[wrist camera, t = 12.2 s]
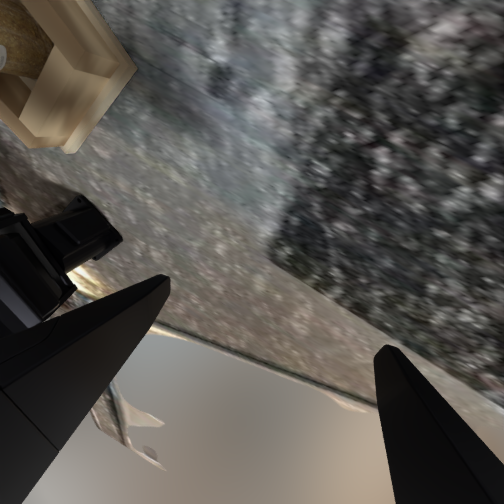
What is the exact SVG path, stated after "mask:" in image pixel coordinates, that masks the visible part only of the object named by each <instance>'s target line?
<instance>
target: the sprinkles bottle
mask: <svg viewBox="0 0 504 504" xmlns="http://www.w3.org/2000/svg"><path fill="white" fill-rule="evenodd" d="M52 49H53V44H52V41H51V39H50V38H49V37H48V35H47V34H46V33H45V31H44V30H43V29H42V28H41V26H40V25H39V24H38V22H37V21H36V20H35V19H34V17H33V16H32V15H31V13H30V12H29V11H28V10H27V8H26V7H25V6H24V5H23V4H21V3H19V2H16V1H14V0H0V72H2V73H7V74H12V75H18V76H22V77H27V78H29V79H31V80H34V81H37V80H38V78H39V76H40V74H41V72H42V70H43V68H44V65H45V63H46V61H47V59H48V57H49V55H50V53H51V51H52Z"/></svg>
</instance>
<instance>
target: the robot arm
mask: <svg viewBox="0 0 504 504" xmlns="http://www.w3.org/2000/svg"><path fill="white" fill-rule="evenodd" d="M27 219H28V218H27V216H26V215H25V213H20V214H14V212H11V211H10V210H8V209H7V208H5V207H3V208H0V504H22V502H23V501H24V500H25V498H26V497H27V496H28V494H29V493H30V492H31V490H32V489H33V487H34V486H35V485H36V483H37V482H38V481H39V479H40V478H41V477H42V475H43V474H44V472H45V471H46V470H47V468H48V467H49V466H50V464H51V463H52V461H53V460H54V459H55V457H56V456H57V455H58V453H59V451H60V450H61V449H62V448H63V446H64V445H65V444H66V442H67V441H68V439H69V438H70V437H71V435H72V434H73V433H74V431H75V430H76V428H77V427H78V426H79V424H80V423H81V421H82V420H83V419H84V418H85V416H86V415H87V414H88V412H89V411H90V409H91V408H92V407H93V405H94V404H95V403H96V401H97V400H98V399H99V397H100V396H101V394H102V393H103V392H104V390H105V389H106V388H107V386H108V385H109V384H110V382H111V381H112V379H113V378H114V377H115V375H116V374H117V372H118V371H119V370H120V369H121V367H122V366H123V364H124V363H125V362H126V360H127V359H128V357H129V356H130V355H131V353H132V352H133V351H134V349H135V348H136V347H137V345H138V344H139V343H140V341H141V340H142V338H143V337H144V336H145V334H146V333H147V332H148V330H149V329H150V327H151V326H152V324H153V322H154V321H155V319H156V317H157V316H158V314H159V312H160V310H161V309H162V307H163V305H164V304H165V302H166V300H167V298H168V297H169V295H170V277H169V276H166V275H163V274H159V275H156V276H154V277H151V278H149V279H147V280H144V281H142V282H139V283H137V284H134V285H132V286H130V287H127V288H125V289H122V290H120V291H118V292H115V293H113V294H110V295H108V296H106V297H103V298H101V299H98V300H96V301H94V302H91V303H89V304H86V305H84V306H81V307H79V308H77V309H74V310H72V311H69V312H67V313H65V314H62V315H61V316H57V317H55V318H52V319H50V320H48V321H45V320H46V319H48V318H49V317H50V316H51V315H52V314H53V313H54V312H55V311H56V310H57V309H58V308H59V307H60V306H61V305H62V304H63V303H64V302H65V301H66V300H67V299H68V298H69V297H70V296H71V295H72V294H73V293H74V292H75V291H76V290H77V289H78V288H77V287H76V285H75V284H73V283H72V281H71V280H70V279H69V277H68V276H67V273H68V272H70V271H71V270H73V269H75V268H76V267H78V266H80V265H81V264H83V263H85V262H86V261H88V260H90V259H91V258H92V259H93V260H95V261H97V260H99V259H100V258H102V257H103V256H104V255H106V254H107V253H108V252H109V251H111V250H112V249H113V248H115V247H116V246H117V245H118V244H120V243H121V242H122V241H123V238H122V237H121V236H120V235H119V233H118V232H117V231H116V230H115V229H114V228H113V227H112V226H111V225H110V224H109V223H108V222H107V221H106V220H105V219H104V218H103V216H102V215H101V214H100V213H99V212H98V211H97V210H96V209H95V208H94V207H93V206H92V205H91V204H90V203H89V202H88V200H87V199H86V198H85V197H84V196H82V195H79V196H76V197H75V198H74V199H73V201H72V202H71V203H70V204H69V205H68V206H67V207H66V209H65V210H64V211H63V212H62V213H60V214H57V215H54V216H51V217H48V218H46V219H43V220H40V221H37V222H34V223H31V224H30V222H29V221H28V220H27ZM44 321H45V322H44ZM42 322H43V323H42ZM374 374H375V386H376V397H377V405H378V411H379V416H380V421H381V427H382V432H383V438H384V443H385V448H386V453H387V459H388V464H389V470H390V475H391V481H392V485H393V492H394V497H395V502H396V504H504V464H503V463H502V462H501V461H500V460H499V459H498V458H497V457H496V456H495V454H494V453H493V452H492V451H491V450H490V449H489V448H488V447H487V446H486V444H485V443H484V442H483V441H482V440H481V439H480V438H479V437H478V436H477V434H476V433H475V432H474V431H473V430H472V429H471V428H470V427H469V426H468V425H467V423H466V422H465V421H464V420H463V419H462V418H461V417H460V416H459V415H458V413H457V412H456V411H455V410H454V409H453V408H452V407H451V406H450V405H449V404H448V402H447V401H446V400H445V399H444V398H443V397H442V396H441V395H440V394H439V392H438V391H437V390H436V389H435V388H434V387H433V386H432V385H431V384H430V382H429V381H428V380H427V379H426V378H425V377H424V376H423V375H422V374H421V373H420V371H419V370H418V369H417V368H416V367H415V366H414V365H413V364H412V363H411V361H410V360H409V359H408V358H407V357H406V356H405V355H404V354H403V353H402V352H401V350H400V349H399V348H397V347H394V346H391V345H384V346H383V347H382V348H381V349H380V350H379V351H378V353H377V354H376V355H375V357H374Z"/></svg>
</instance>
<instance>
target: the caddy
mask: <svg viewBox="0 0 504 504" xmlns="http://www.w3.org/2000/svg"><path fill="white" fill-rule="evenodd" d="M14 1H16V2H19V3H21V4H23V5H24V6H25V7H26V8H27V10H28V11H29V12H30V13H31V15H32V16H33V17H34V19H35V20H36V21H37V22H38V24H39V25H40V26H41V28H42V29H43V30H44V31H45V33H46V34H47V35H48V37H49V38H50V39H51V41H52V44H53V49H52V51H51V53H50V55H49V57H48V59H47V61H46V63H45V65H44V68H43V70H42V72H41V74H40V76H39V78H38V80H37V81H34V80H31V79H29V78H27V77H22V76H18V75H12V74H7V73H2V72H0V119H1V120H2V121H3V122H4V123H5V124H6V125H7V126H8V127H9V128H10V129H11V130H12V131H13V132H14V133H15V134H16V135H17V136H18V138H19V139H20V140H21V141H22V142H23V143H24V144H25V145H26V146H27V147H28V148H43V147H57V146H59V147H60V148H61V149H62V150H63V151H64V152H65V154H71V153H76V152H77V150H78V149H79V148H80V146H81V145H82V143H83V142H84V141H85V139H86V138H87V137H88V135H89V134H90V133H91V131H92V130H93V129H94V127H95V126H96V125H97V123H98V122H99V120H100V119H101V118H102V116H103V115H104V114H105V112H106V111H107V110H108V108H109V107H110V106H111V104H112V103H113V102H114V100H115V99H116V97H117V96H118V95H119V93H120V92H121V91H122V89H123V88H124V87H125V85H126V84H127V83H128V81H129V80H130V79H131V77H132V76H133V74H134V73H135V72H136V70H137V69H138V68H137V67H136V65H135V64H134V62H133V61H132V59H131V58H130V57H129V55H128V54H127V52H126V51H125V49H124V48H123V46H122V45H121V43H120V42H119V40H118V39H117V38H116V36H115V35H114V33H113V32H112V30H111V29H110V27H109V26H108V24H107V23H106V22H105V20H104V19H103V17H102V16H101V14H100V13H99V11H98V10H97V8H96V7H95V6H94V4H93V3H92V1H91V0H14Z"/></svg>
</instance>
